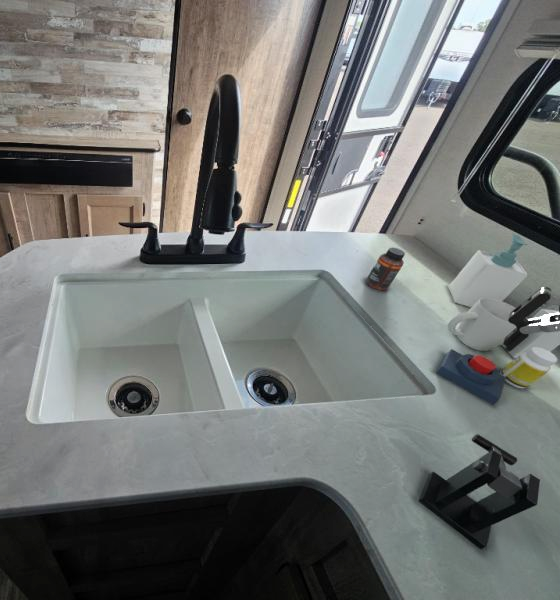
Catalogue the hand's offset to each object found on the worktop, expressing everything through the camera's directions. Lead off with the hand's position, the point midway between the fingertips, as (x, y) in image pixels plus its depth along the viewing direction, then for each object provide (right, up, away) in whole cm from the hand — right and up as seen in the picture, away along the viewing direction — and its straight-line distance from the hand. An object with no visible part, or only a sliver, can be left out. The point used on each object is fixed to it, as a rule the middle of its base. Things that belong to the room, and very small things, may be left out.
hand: (541, 365), depth 49 cm
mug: (+16, 0, +30) cm, 34 cm away
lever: (-10, -15, -3) cm, 18 cm away
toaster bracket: (-14, -22, 0) cm, 26 cm away
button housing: (+8, -7, +20) cm, 23 cm away
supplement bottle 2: (+18, -8, +21) cm, 29 cm away
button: (+8, -4, +18) cm, 20 cm away
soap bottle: (+30, +10, +44) cm, 54 cm away
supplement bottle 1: (+5, +14, +46) cm, 48 cm away
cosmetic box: (+27, -3, +28) cm, 39 cm away
